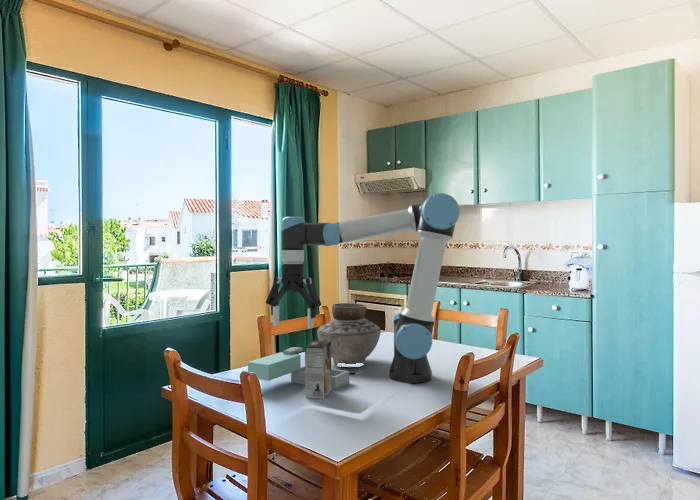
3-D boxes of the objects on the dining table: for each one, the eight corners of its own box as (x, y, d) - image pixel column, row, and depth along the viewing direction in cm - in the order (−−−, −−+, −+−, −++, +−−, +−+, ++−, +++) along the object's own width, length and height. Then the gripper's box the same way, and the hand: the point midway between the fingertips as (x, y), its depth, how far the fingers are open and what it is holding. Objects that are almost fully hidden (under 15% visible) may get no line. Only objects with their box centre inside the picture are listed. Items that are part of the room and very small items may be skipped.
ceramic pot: (390, 361, 194) (390, 303, 194) (363, 376, 172) (363, 309, 172) (336, 355, 205) (336, 300, 205) (305, 368, 183) (305, 306, 183)
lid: (268, 380, 150) (268, 361, 150) (248, 377, 155) (247, 358, 155) (309, 366, 169) (309, 348, 169) (290, 363, 174) (290, 346, 174)
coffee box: (313, 389, 156) (312, 340, 156) (332, 390, 155) (331, 340, 155) (304, 398, 147) (304, 345, 147) (324, 399, 146) (324, 346, 146)
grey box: (349, 383, 163) (349, 355, 163) (335, 389, 155) (335, 360, 155) (300, 375, 174) (300, 349, 174) (284, 381, 166) (284, 353, 166)
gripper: (331, 263, 158) (331, 327, 158) (268, 262, 169) (268, 322, 169) (320, 263, 151) (320, 330, 151) (255, 263, 162) (255, 325, 162)
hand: (293, 326), depth 160 cm, fingers open, 13 cm apart
